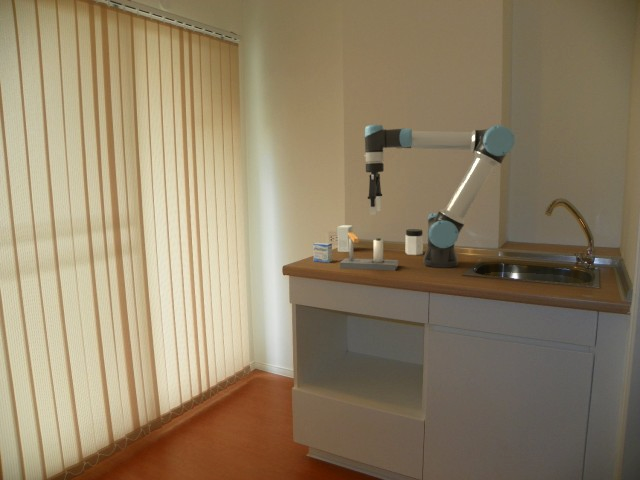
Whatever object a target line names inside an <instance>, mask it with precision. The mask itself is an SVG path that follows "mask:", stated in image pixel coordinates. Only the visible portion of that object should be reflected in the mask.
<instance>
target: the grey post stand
mask: <svg viewBox="0 0 640 480" xmlns="http://www.w3.org/2000/svg"><path fill="white" fill-rule="evenodd" d="M348 255H349V257H345V258H343V260H341V261H340V262H339V269H347V270H348V269H349V270H350V269H351V270H366V271H367V270H369V271H371V270H372V271H390V272H391V271H393V272H395V271H396V270H397V268H398V267H399V259H383V263H373V258H354V242H353V241H352V239H351V238H350V237H349V252H348Z"/></svg>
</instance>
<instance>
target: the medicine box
mask: <svg viewBox="0 0 640 480" xmlns="http://www.w3.org/2000/svg"><path fill="white" fill-rule="evenodd" d="M312 247H313V262H314V263H325V264H326V263H327V264H329V263H331V262H333V243H329V242H328V243H326V242H315V243H313V246H312Z"/></svg>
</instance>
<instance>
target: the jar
mask: <svg viewBox="0 0 640 480" xmlns="http://www.w3.org/2000/svg"><path fill="white" fill-rule="evenodd" d="M404 239H405V241H404V242H405V244H404V245H405V249H404V250H405V251H404V252H405V254H406V255H408V256H409V255H410V256H418V255H423V253H424V236H423V230H422V229H419V228H409V229H406V230H405V238H404Z"/></svg>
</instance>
